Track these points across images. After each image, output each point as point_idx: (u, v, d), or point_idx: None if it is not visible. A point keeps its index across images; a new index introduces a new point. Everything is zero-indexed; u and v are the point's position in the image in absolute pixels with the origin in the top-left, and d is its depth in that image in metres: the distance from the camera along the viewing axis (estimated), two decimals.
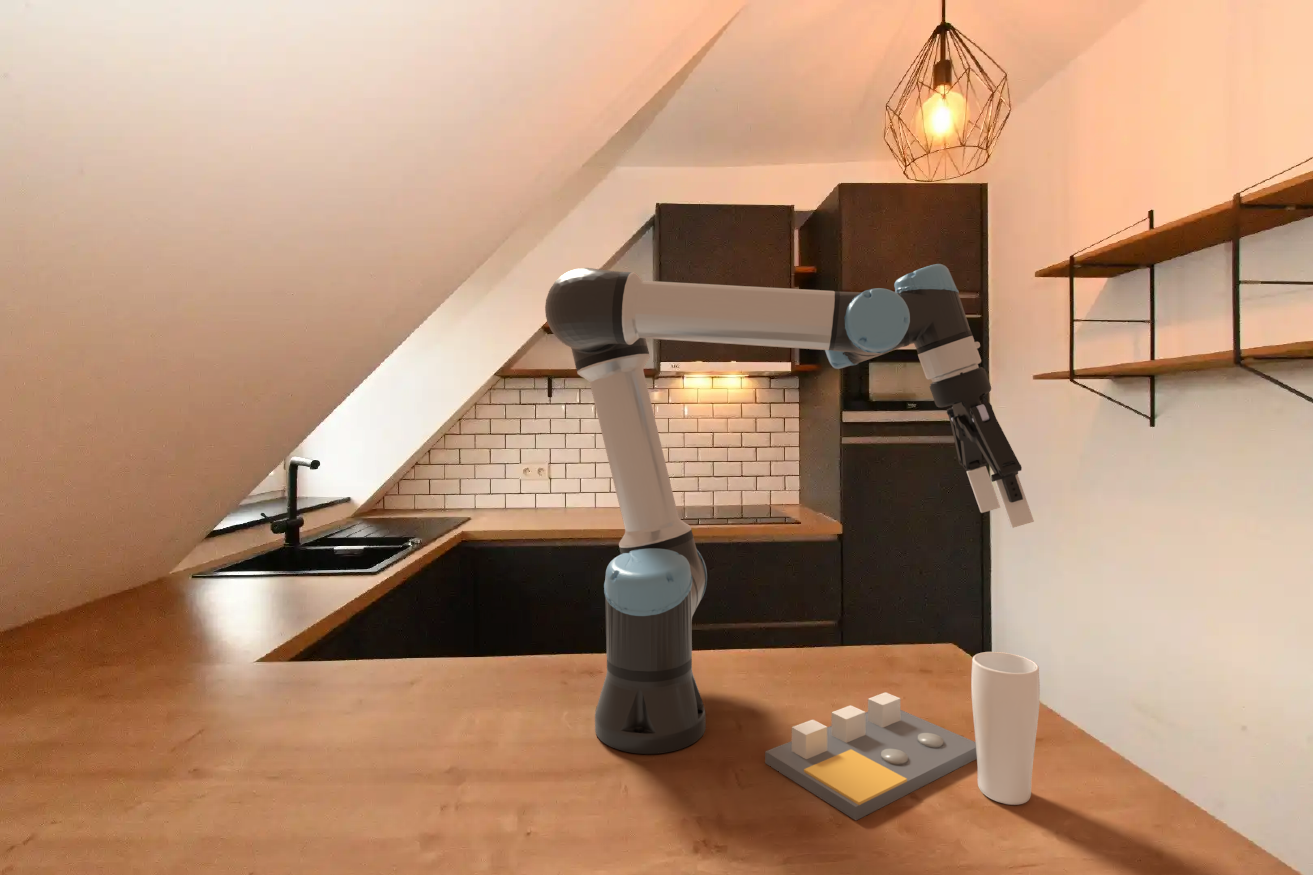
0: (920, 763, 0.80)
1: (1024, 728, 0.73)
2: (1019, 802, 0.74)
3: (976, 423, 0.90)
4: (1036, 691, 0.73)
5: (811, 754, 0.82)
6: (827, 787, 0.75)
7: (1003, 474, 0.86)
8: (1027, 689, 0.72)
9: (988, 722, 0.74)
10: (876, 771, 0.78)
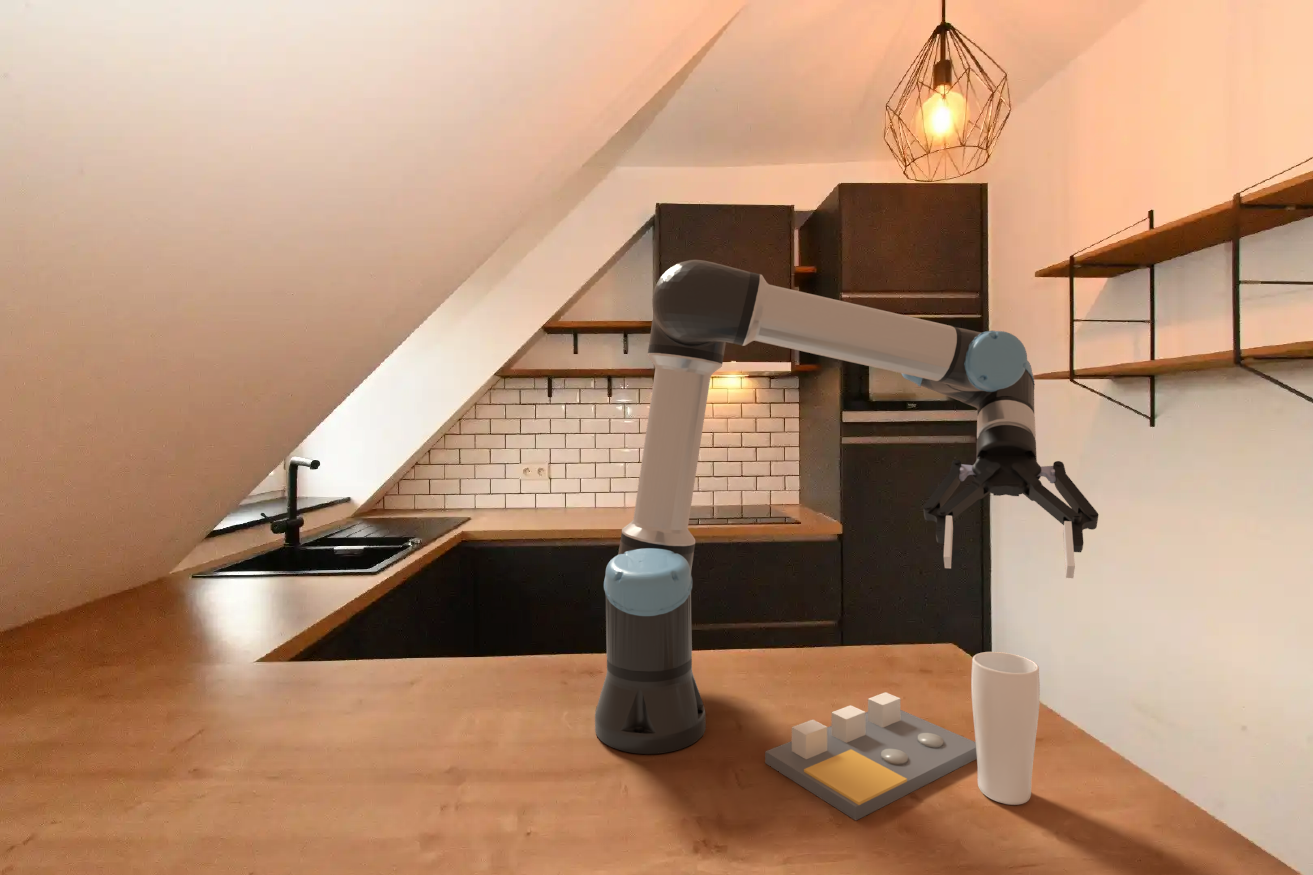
0: (920, 763, 0.80)
1: (1024, 728, 0.73)
2: (1019, 802, 0.74)
3: (1062, 473, 0.89)
4: (1036, 691, 0.73)
5: (811, 754, 0.82)
6: (827, 787, 0.75)
7: (1097, 517, 0.84)
8: (1027, 689, 0.72)
9: (988, 722, 0.74)
10: (876, 771, 0.78)
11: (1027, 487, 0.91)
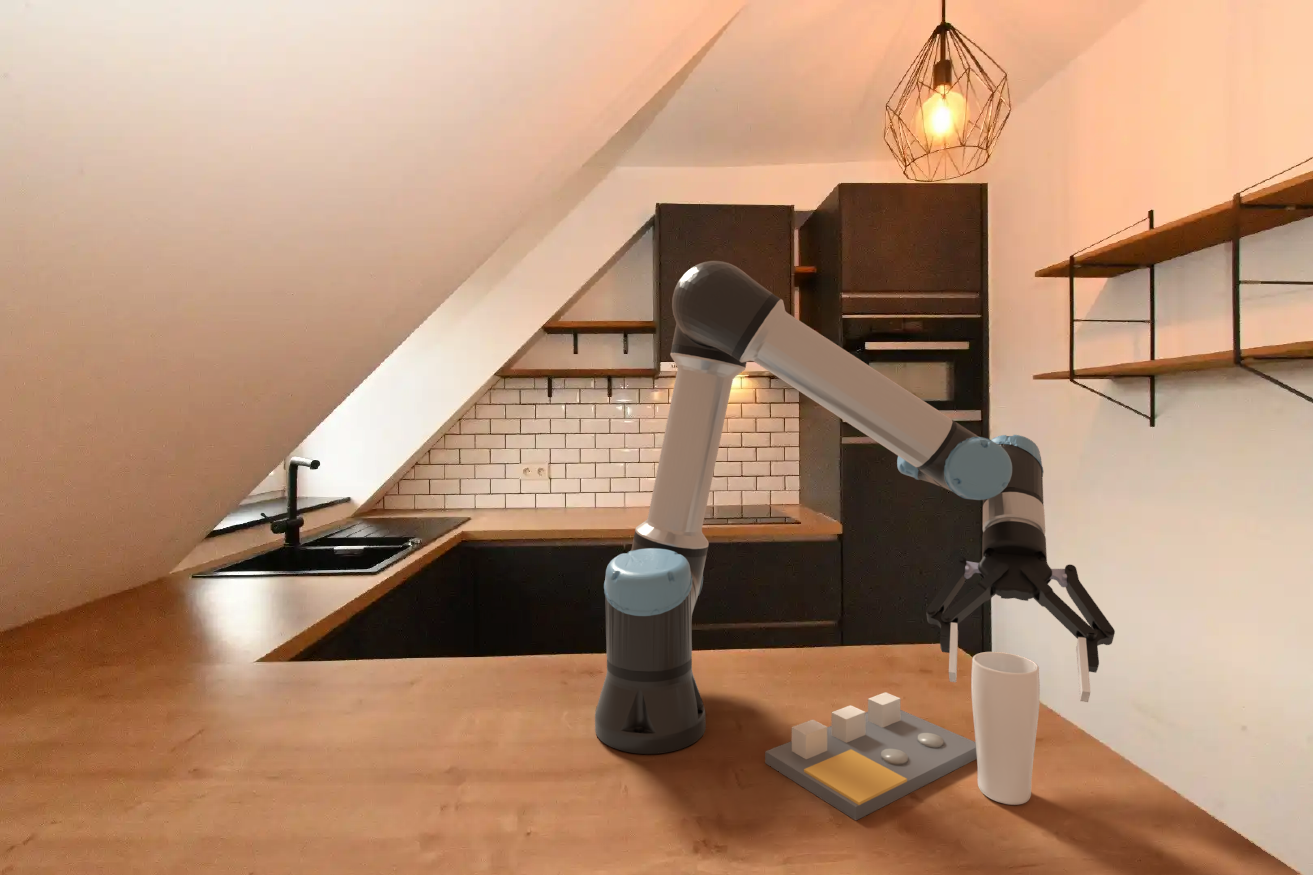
0: (920, 763, 0.80)
1: (1024, 728, 0.73)
2: (1019, 802, 0.74)
3: (1075, 579, 0.84)
4: (1036, 691, 0.73)
5: (811, 754, 0.82)
6: (827, 787, 0.75)
7: (1113, 634, 0.78)
8: (1027, 689, 0.72)
9: (988, 722, 0.74)
10: (876, 771, 0.78)
11: (1037, 592, 0.85)
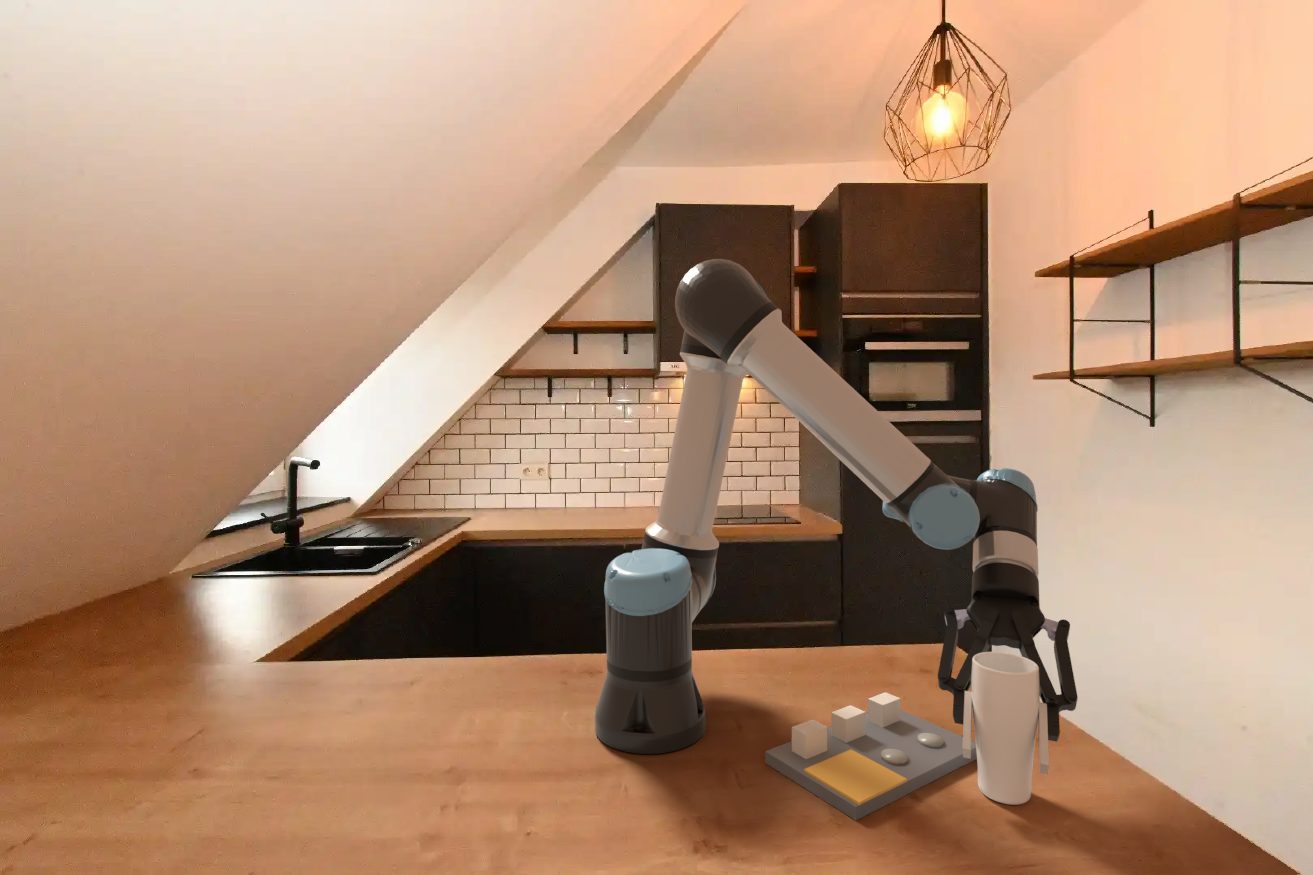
0: (920, 763, 0.80)
1: (1024, 728, 0.73)
2: (1019, 802, 0.74)
3: (1063, 636, 0.78)
4: (1036, 691, 0.73)
5: (811, 754, 0.82)
6: (827, 787, 0.75)
7: (1074, 702, 0.73)
8: (1027, 689, 0.72)
9: (988, 722, 0.74)
10: (876, 771, 0.78)
11: (1021, 641, 0.80)
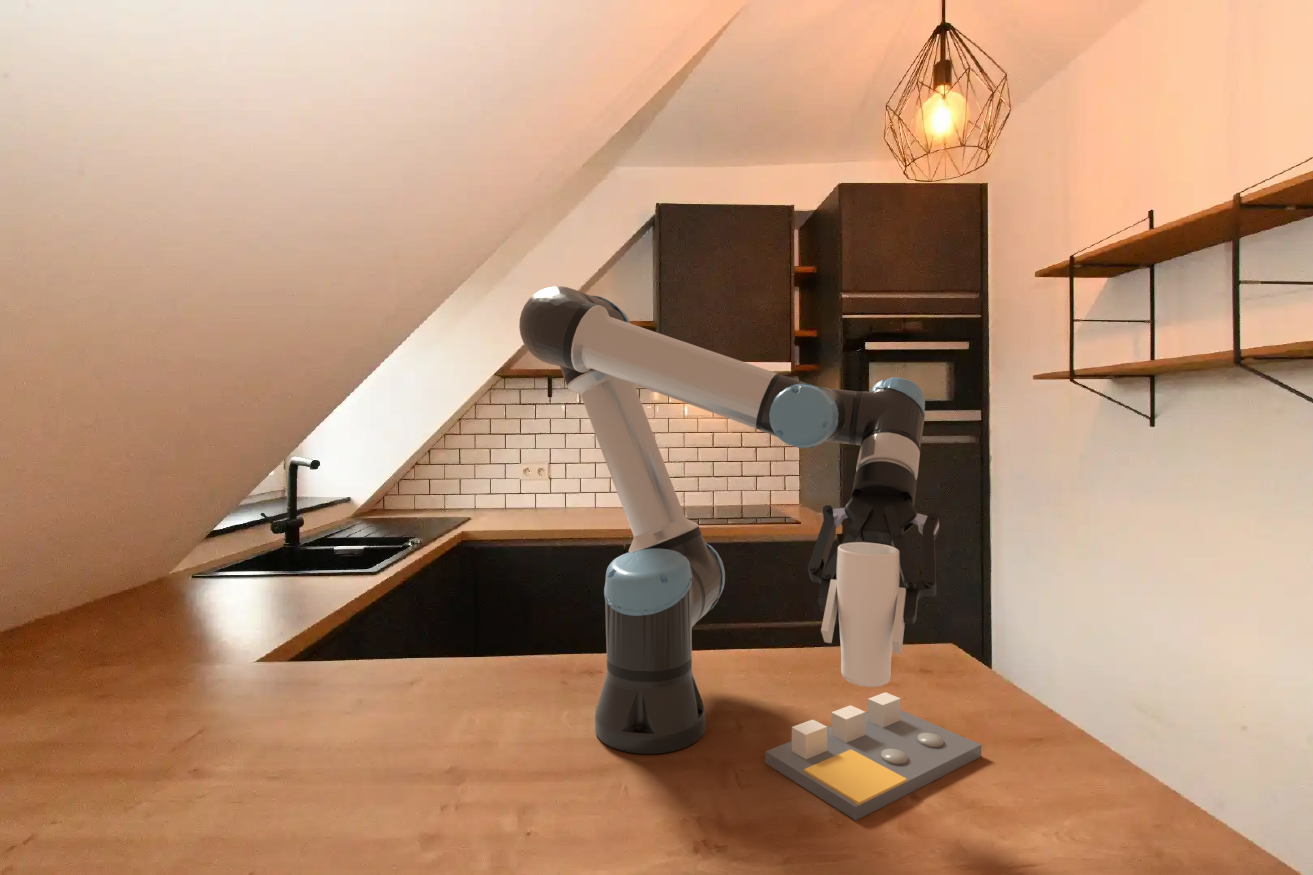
0: (920, 763, 0.80)
1: (881, 609, 0.73)
2: (876, 684, 0.74)
3: (930, 527, 0.79)
4: (894, 574, 0.73)
5: (811, 754, 0.82)
6: (827, 787, 0.75)
7: (932, 586, 0.74)
8: (884, 571, 0.73)
9: (848, 605, 0.74)
10: (876, 771, 0.78)
11: None
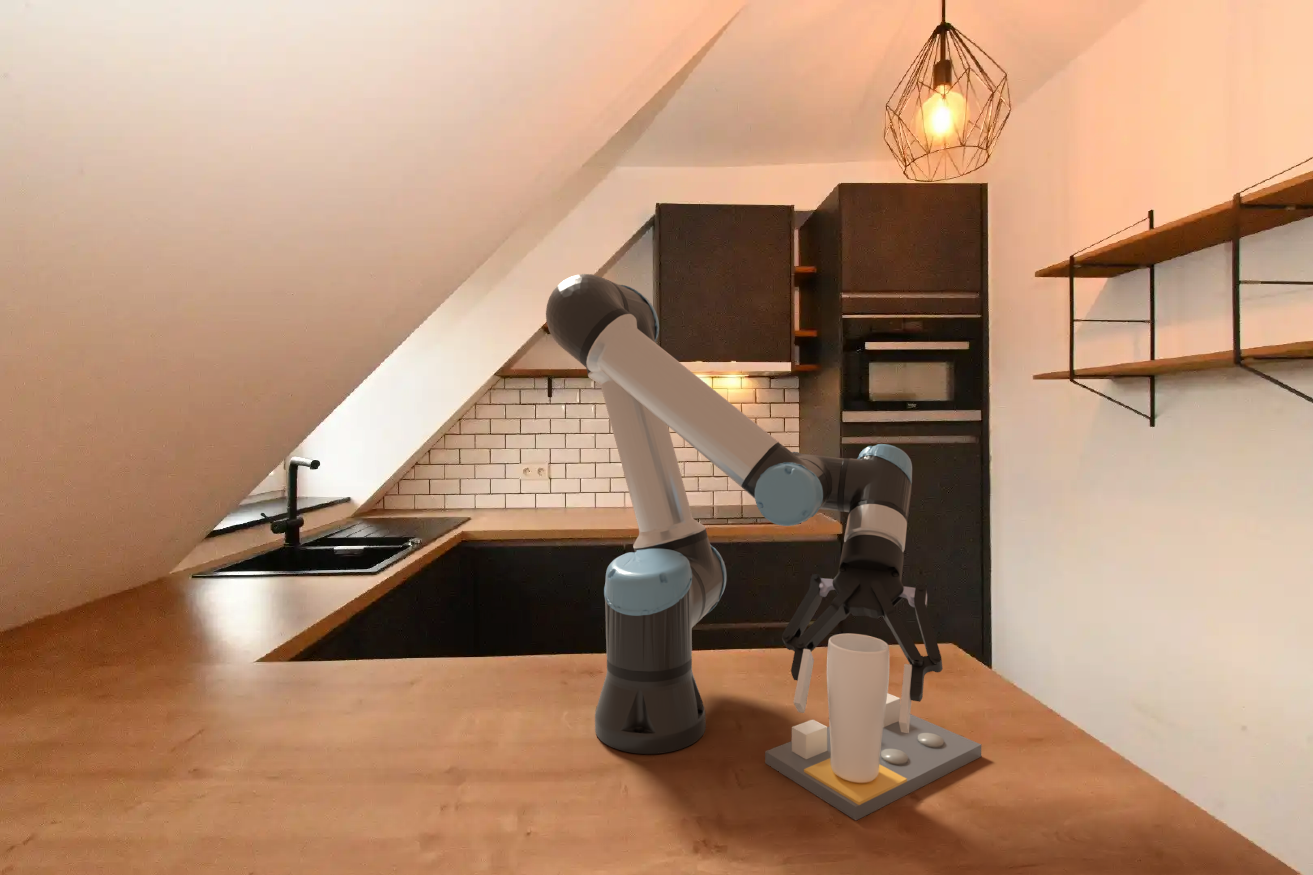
0: (920, 763, 0.80)
1: (870, 706, 0.74)
2: (864, 780, 0.75)
3: (921, 600, 0.80)
4: (883, 671, 0.74)
5: (811, 754, 0.82)
6: (827, 787, 0.75)
7: (939, 662, 0.74)
8: (873, 668, 0.74)
9: (837, 700, 0.75)
10: None
11: (884, 610, 0.81)
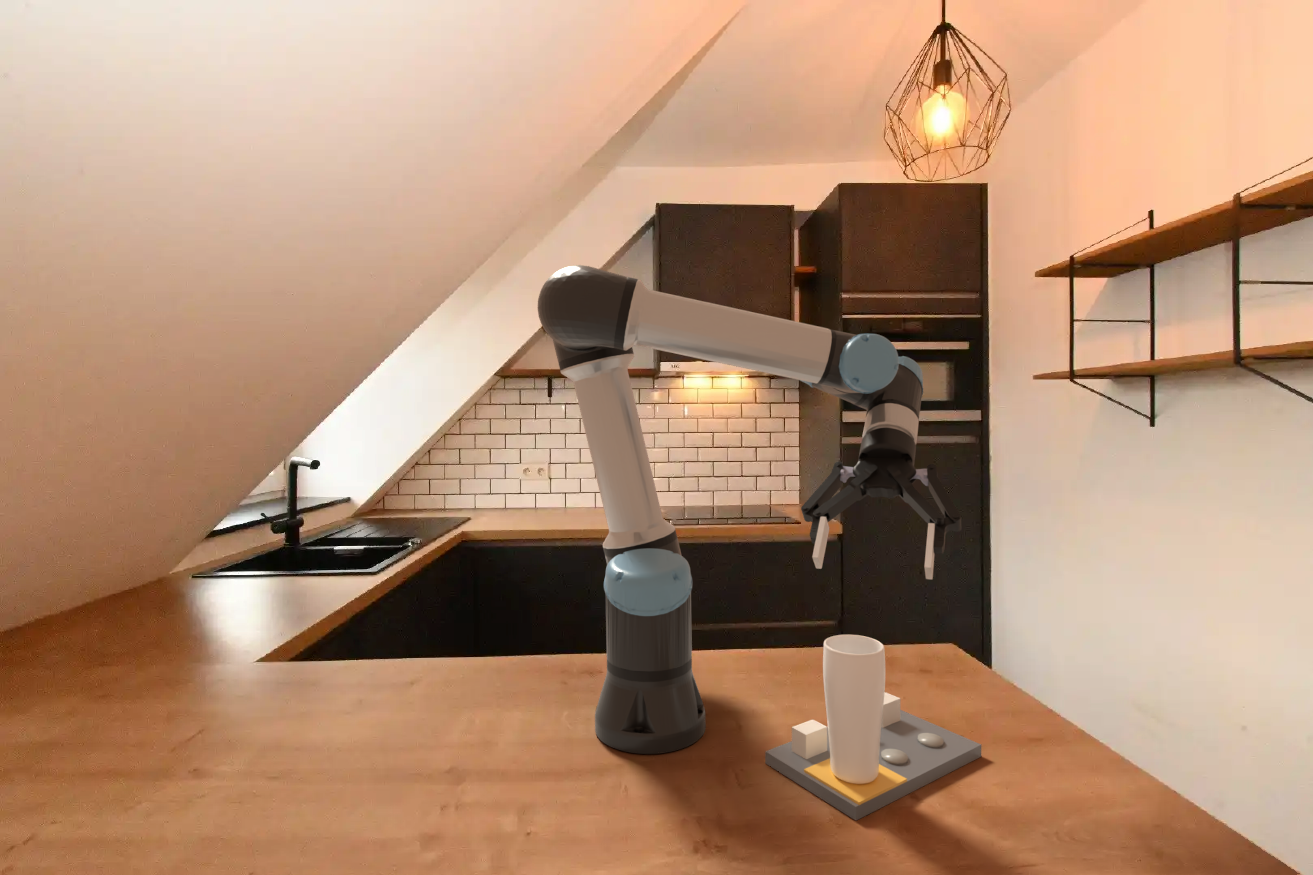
0: (920, 763, 0.80)
1: (867, 708, 0.74)
2: (864, 781, 0.75)
3: (934, 476, 0.91)
4: (879, 672, 0.74)
5: (811, 754, 0.82)
6: (827, 787, 0.75)
7: (959, 520, 0.85)
8: (868, 670, 0.74)
9: (834, 702, 0.75)
10: None
11: (901, 489, 0.92)
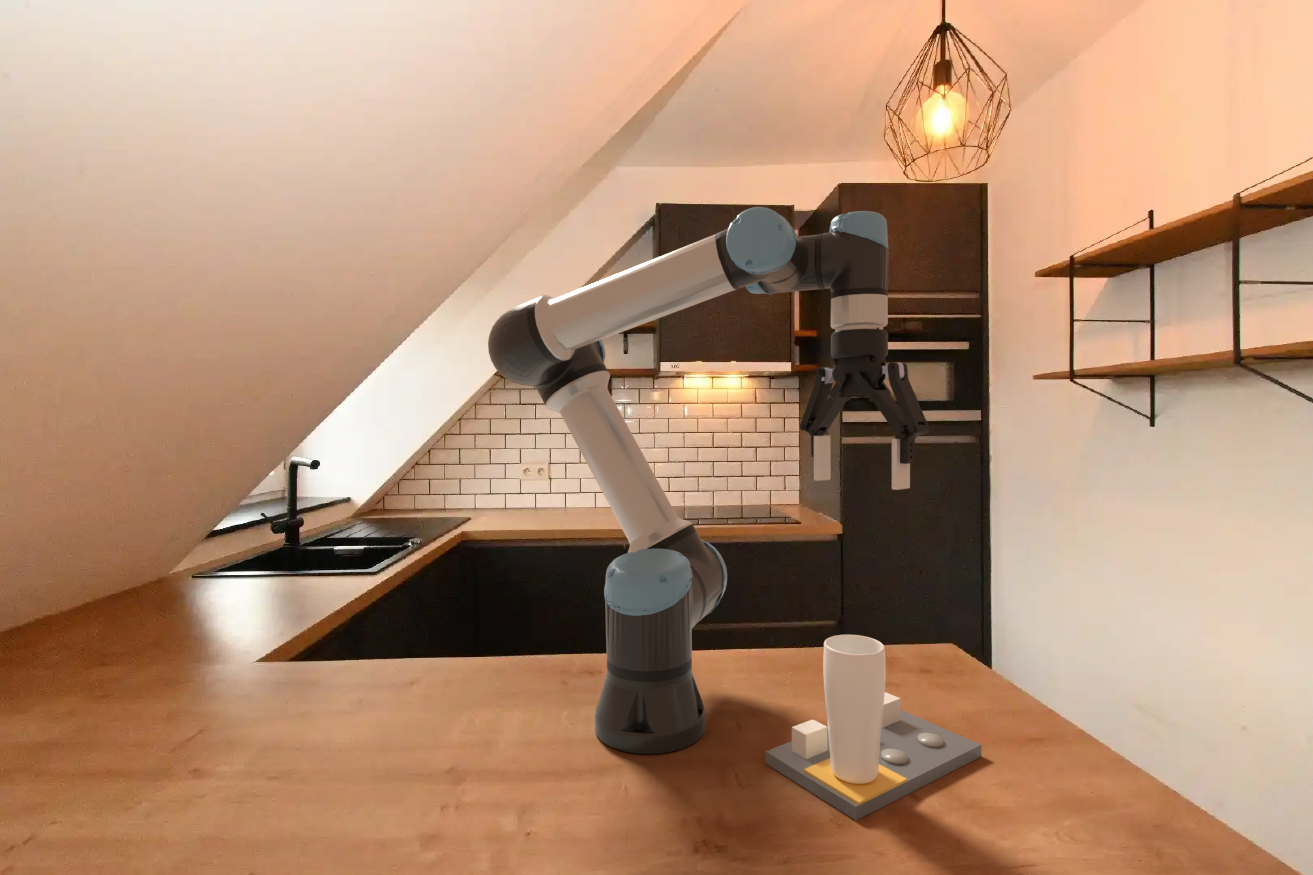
0: (920, 763, 0.80)
1: (867, 708, 0.74)
2: (864, 781, 0.75)
3: (894, 378, 0.87)
4: (879, 672, 0.74)
5: (811, 754, 0.82)
6: (827, 787, 0.75)
7: (917, 432, 0.85)
8: (869, 670, 0.73)
9: (834, 702, 0.75)
10: None
11: None
